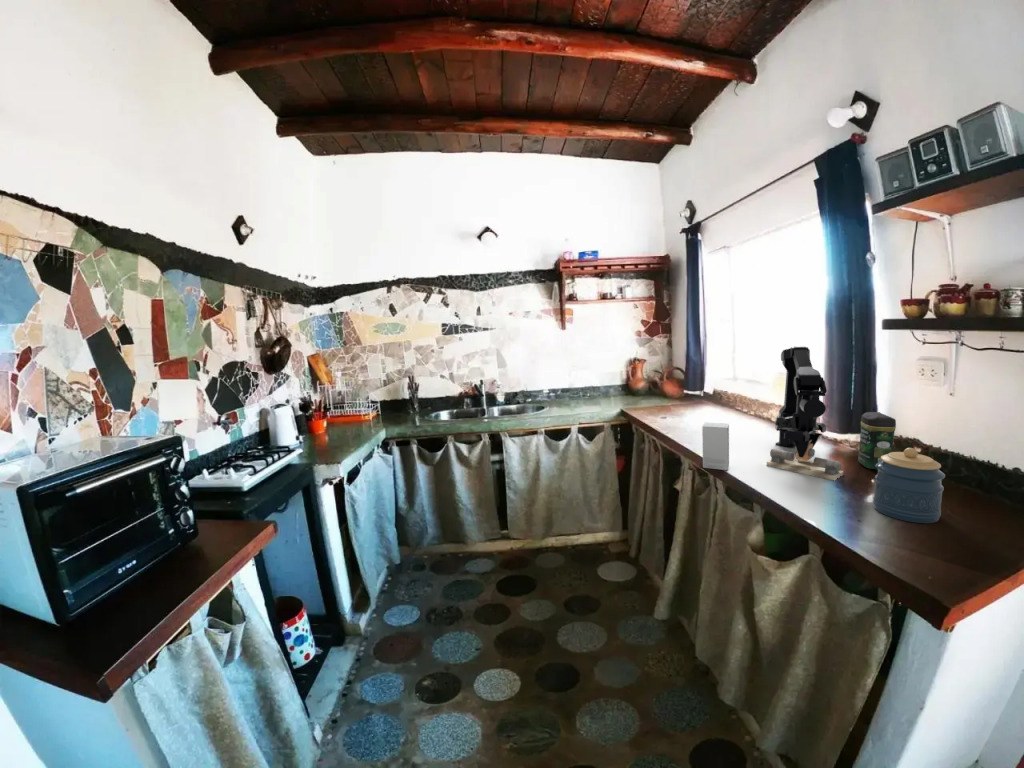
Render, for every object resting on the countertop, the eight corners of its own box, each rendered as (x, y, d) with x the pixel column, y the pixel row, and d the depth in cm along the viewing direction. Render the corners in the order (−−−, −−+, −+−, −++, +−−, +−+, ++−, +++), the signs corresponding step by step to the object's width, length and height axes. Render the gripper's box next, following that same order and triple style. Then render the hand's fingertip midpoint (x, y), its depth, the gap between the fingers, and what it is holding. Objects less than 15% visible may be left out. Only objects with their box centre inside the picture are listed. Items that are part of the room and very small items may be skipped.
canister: (880, 519, 106) (886, 453, 104) (866, 499, 117) (871, 439, 115) (950, 528, 100) (958, 458, 98) (928, 506, 111) (934, 443, 109)
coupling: (793, 458, 142) (793, 444, 141) (798, 455, 144) (799, 441, 143) (810, 461, 137) (810, 447, 137) (815, 458, 140) (816, 444, 139)
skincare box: (729, 465, 149) (730, 423, 146) (727, 471, 143) (728, 427, 141) (703, 462, 153) (704, 421, 151) (701, 467, 148) (702, 425, 145)
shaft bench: (766, 465, 147) (767, 451, 146) (776, 460, 152) (777, 446, 151) (834, 480, 131) (835, 465, 130) (843, 474, 136) (844, 459, 135)
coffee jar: (853, 460, 147) (857, 410, 145) (881, 462, 145) (885, 410, 142) (867, 470, 138) (871, 416, 135) (896, 472, 136) (901, 416, 133)
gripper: (791, 403, 150) (789, 444, 153) (767, 411, 140) (766, 456, 142) (828, 407, 141) (825, 451, 144) (805, 416, 131) (803, 464, 133)
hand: (804, 455), depth 141 cm, fingers closed on coupling, 5 cm apart
